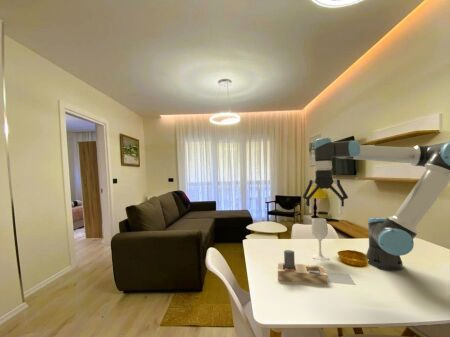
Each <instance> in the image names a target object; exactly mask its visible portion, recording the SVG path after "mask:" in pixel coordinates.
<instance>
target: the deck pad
mask: <svg viewBox="0 0 450 337" xmlns="http://www.w3.org/2000/svg"><path fill="white" fill-rule="evenodd" d="M326 273H327V281H328V282H329V284H331V283H333V284H342V285H353V286H356V282H355V281H354V279H353V278H352V276H351V275H350V274H349V273H344V272H343V273H342V272H331V271H326Z"/></svg>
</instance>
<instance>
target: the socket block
mask: <svg viewBox="0 0 450 337" xmlns="http://www.w3.org/2000/svg"><path fill="white" fill-rule="evenodd" d="M326 272H327V271H326V269H325V267H324V266H323V265H313V264H304V263H303V264H301V263H295V270H294V269H287V268H285V264H284V262H277V280H278V281H285V282H293V281H294V282H306V283H313V284H314V283H315V284H326V285H328V278H327V273H326Z"/></svg>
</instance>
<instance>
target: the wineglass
mask: <svg viewBox="0 0 450 337" xmlns="http://www.w3.org/2000/svg"><path fill="white" fill-rule="evenodd" d="M311 233H312V235H313V237H314V238H315V239H317V241H318V253H317V254H316V253H315V254H312V256H311V258H312V259H314V260H317V261H330V257H328V255H325V254H323V253H322V252H323V251H322V241H323V240H325V238H327V237H328V233H329V230H328V223H327V219H325V218H321V217H316V218H312V221H311Z"/></svg>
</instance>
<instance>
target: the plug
mask: <svg viewBox="0 0 450 337" xmlns="http://www.w3.org/2000/svg"><path fill="white" fill-rule="evenodd" d="M283 254H284V255H283V256H284V257H283V259H284V260H283V263H284V264H285V268H287V269H294V270H295V264H296V263H295V251H293V250H291V249H288V250H286V249H285V250H284V251H283Z"/></svg>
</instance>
